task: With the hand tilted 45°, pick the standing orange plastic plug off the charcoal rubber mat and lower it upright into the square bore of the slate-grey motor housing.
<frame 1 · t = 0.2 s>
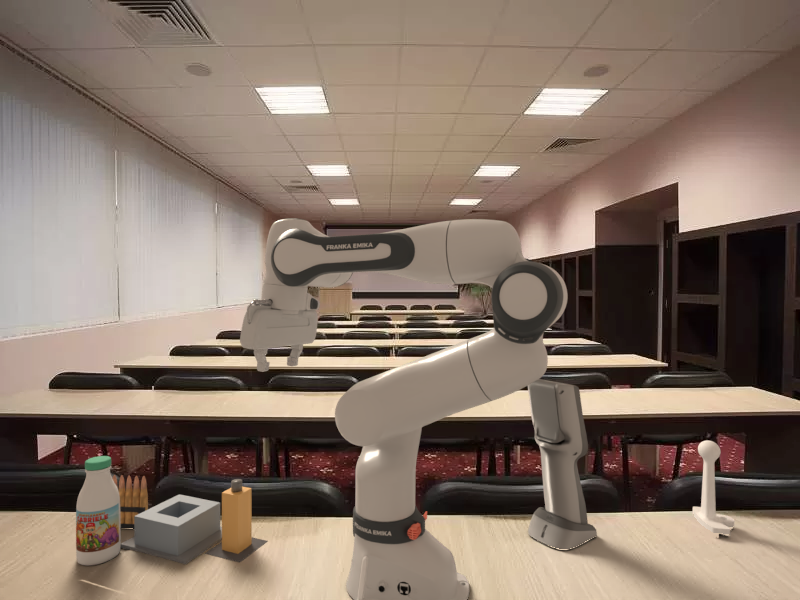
hand: (278, 368, 99), 39 cm above the table, tool pointing down, fingers open, 8 cm apart
thermal camera: (560, 535, 110), on the table
plug: (236, 546, 103), resting on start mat
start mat: (236, 548, 103), on the table
joystick: (715, 528, 114), on the table
milk bottle: (98, 557, 100), on the table
housing: (178, 540, 107), on the table
ammunition clip: (125, 528, 113), on the table
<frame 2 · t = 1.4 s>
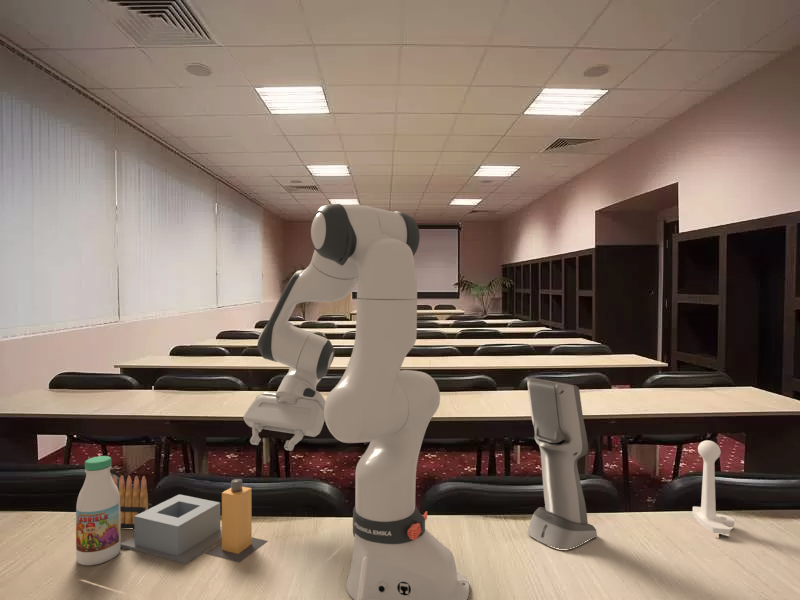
hand: (270, 446, 114), 18 cm above the table, tool tilted 45°, fingers open, 8 cm apart
nothing on the table moved.
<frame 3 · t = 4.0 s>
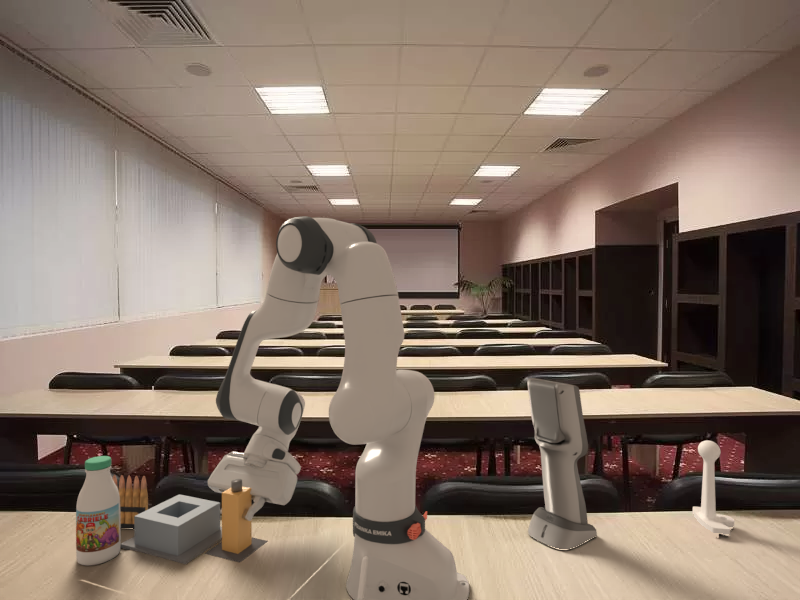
hand: (234, 517, 103), 7 cm above the table, tool tilted 45°, fingers closed on plug, 4 cm apart
plug: (236, 546, 103), resting on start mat, touching gripper
everything else where it was.
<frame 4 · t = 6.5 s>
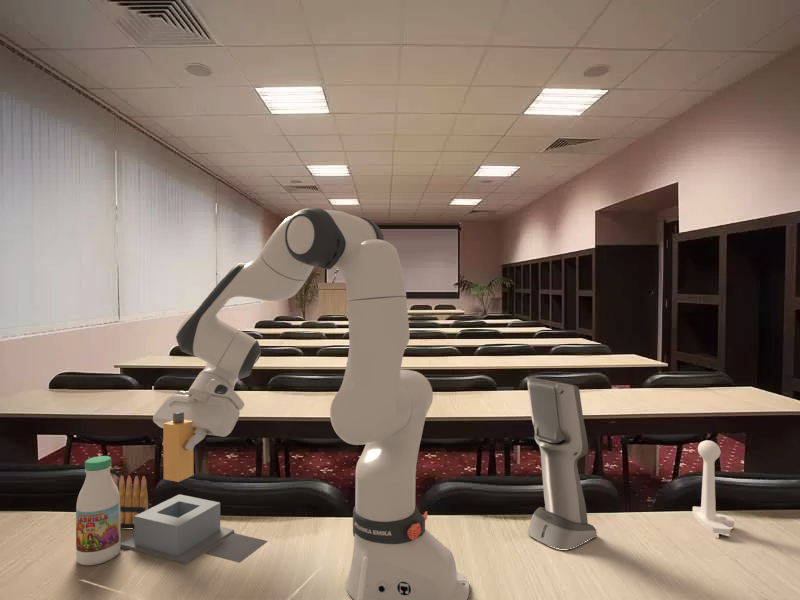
hand: (176, 448, 106), 20 cm above the table, tool tilted 45°, fingers closed on plug, 4 cm apart
plug: (178, 477, 107), point 14 cm above the table, touching gripper
everything else where it was.
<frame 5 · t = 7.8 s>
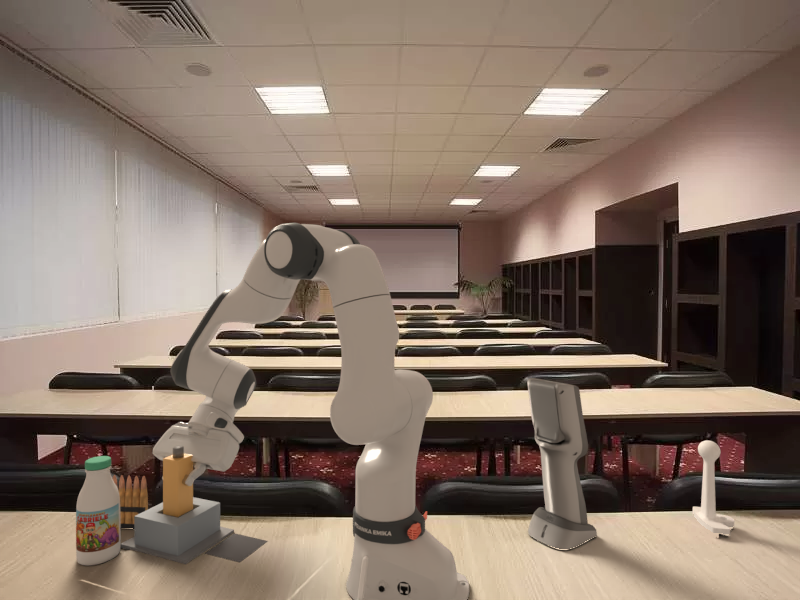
hand: (175, 482, 106), 13 cm above the table, tool tilted 45°, fingers closed on plug, 4 cm apart
plug: (178, 511, 107), point 6 cm above the table, touching gripper
everything else where it was.
when the fingers open (9 cm above the table, at t = 8.9 s): plug drops 2 cm, resting on housing.
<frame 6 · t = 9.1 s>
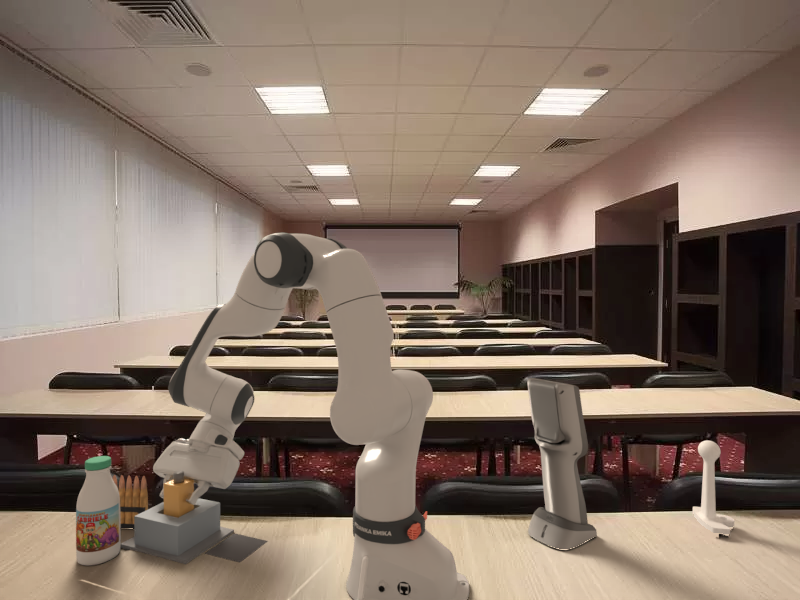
hand: (176, 500, 106), 9 cm above the table, tool tilted 45°, fingers open, 6 cm apart
plug: (179, 536, 107), point 1 cm above the table, touching housing
everything else where it was.
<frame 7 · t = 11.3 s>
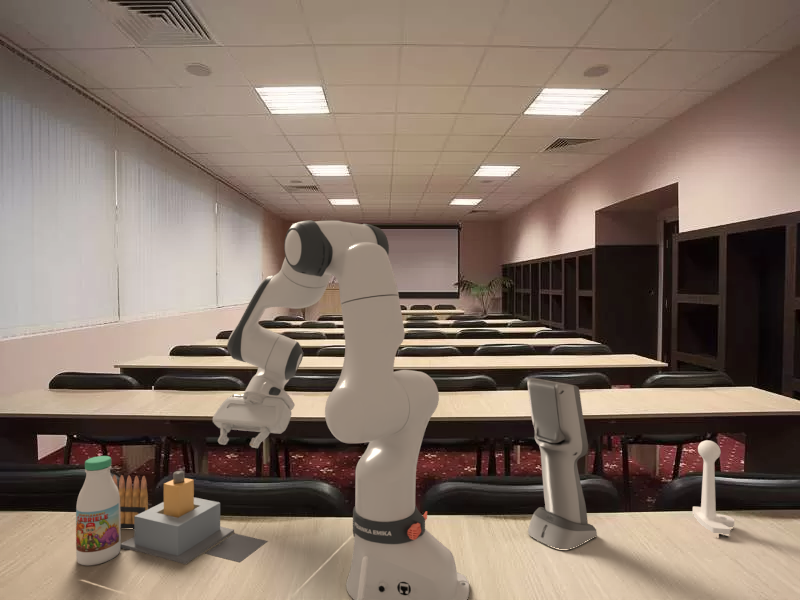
hand: (237, 445, 117), 18 cm above the table, tool tilted 45°, fingers open, 8 cm apart
nothing on the table moved.
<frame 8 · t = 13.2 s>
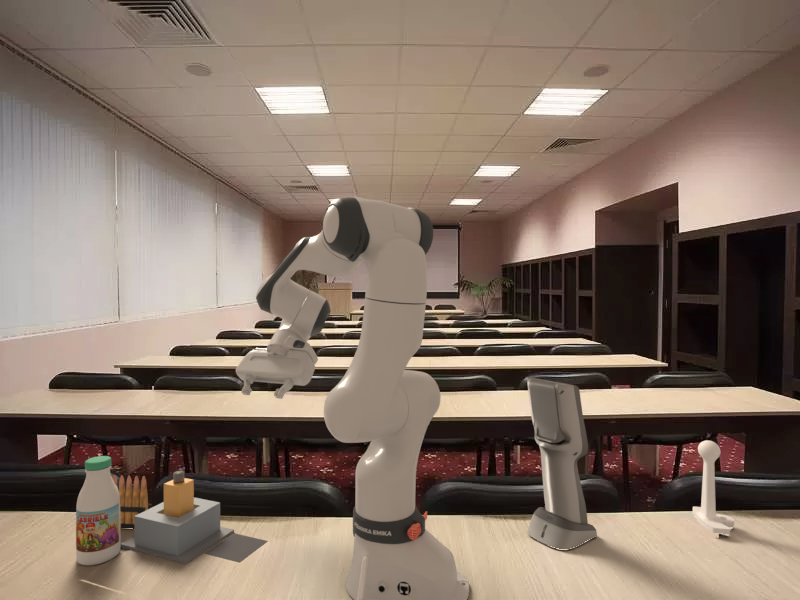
hand: (261, 395, 117), 29 cm above the table, tool tilted 45°, fingers open, 8 cm apart
nothing on the table moved.
at the end: plug 0.1 cm off-centre on the housing, point 0.8 cm above the housing's base; plug tilted 0°; the gripper is holding nothing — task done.
